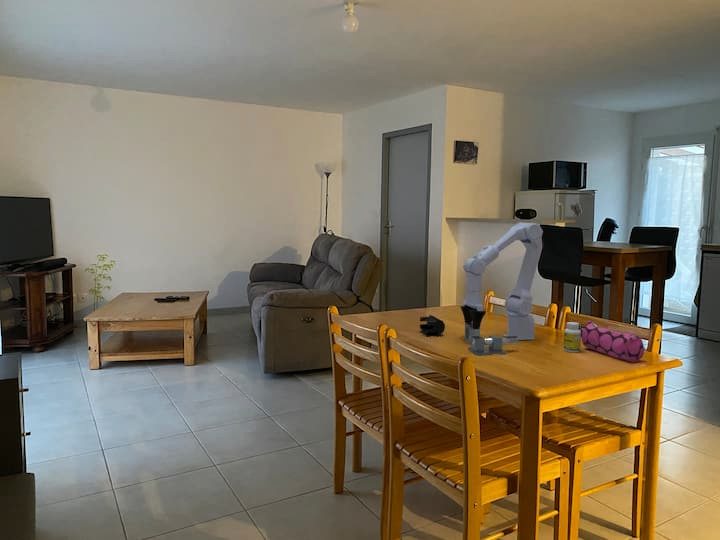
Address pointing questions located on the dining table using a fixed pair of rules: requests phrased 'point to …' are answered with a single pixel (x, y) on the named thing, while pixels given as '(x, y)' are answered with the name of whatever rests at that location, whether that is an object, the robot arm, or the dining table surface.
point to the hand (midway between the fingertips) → (472, 327)
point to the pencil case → (613, 342)
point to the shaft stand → (490, 344)
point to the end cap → (432, 326)
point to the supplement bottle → (572, 337)
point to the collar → (470, 332)
